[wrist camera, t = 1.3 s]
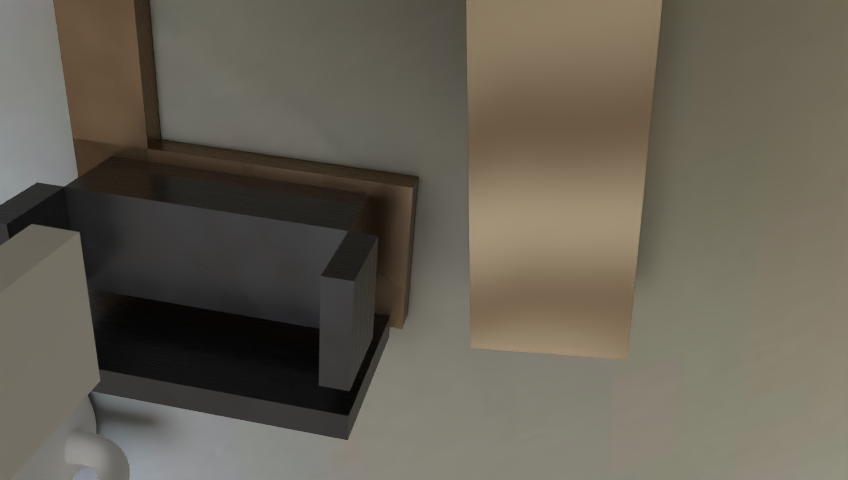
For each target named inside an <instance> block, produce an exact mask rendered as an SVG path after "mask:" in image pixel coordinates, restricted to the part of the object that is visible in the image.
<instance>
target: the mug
mask: <svg viewBox="0 0 848 480" xmlns="http://www.w3.org/2000/svg"><path fill="white" fill-rule="evenodd" d="M82 465H84V466H88V467H91V468H93V469H95V470H96V471H97V474H98V476H97V480H129V478H130V470H129V463H128V460H127V457H126V455H125V454H124V452H123V451H122V450H121V448H120V447H119V446H118V445H117V444H115V443H114V442H113V441H111V440H109V439H107V438H105V437H103V436H101V435H98V434H96V418H95V414H94V410H93V407H92V404H91V402H90V399H89V397H88V395H87V396H86V397H85V398H84V399H83V401H82V402H81V403H80V404H79V405H78V406H77V407H76V408H75V409H74V411H73V412H72V413H71V414H70V415H69V416H68V417H67V418H66V419H65V420H64V422H63V423H62V424H61V425H60V426H59V427H58V428H57V429H56V430H55V432H54V433H53V434H52V435H51V436H50V437H49V438H48V439H47V440H46V441H45V443H44V444H43V445H42V446H41V447H40V448H39V449H38V450H37V451H36V453H35V454H34V455H33V456H32V457H31V458H30V459H29V460H28V461H27V462H26V464H25V465H24V466H23V467H22V468H21V469H20V470H19V471H18V472H17V474H16V475H15V476H14V477H13V478H12V479H11V480H72V479H73V477H74V476H75V475H76V473H77V472H78V471H79V470H80V468H81V467H82Z"/></svg>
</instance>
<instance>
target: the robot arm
mask: <svg viewBox="0 0 848 480" xmlns="http://www.w3.org/2000/svg"><path fill="white" fill-rule="evenodd" d="M99 382H100V375H99V368H98V361H97V353H96V346H95V339H94V332H93V325H92V318H91V311H90V303H89V296H88V289H87V282H86V275H85V268H84V261H83V253H82V246H81V239H80V232H76V231H70V230H64V229H58V228H53V227H47V226H41V225H35V224H31V225H30V226H28V227H27V228H25V229H24V230H22V231H21V232H19V233H18V234H16V235H15V236H13V237H12V238H11V239H9V240H8V241H6V242H5V243H3V244H2V245H0V480H11V479H12V478H13V477H14V476H15V475H16V474H17V472H18V471H19V470H20V469H21V468H22V467H23V466H24V465H25V464H26V462H27V461H28V460H29V459H30V458H31V457H32V456H33V455H34V454H35V453H36V451H37V450H38V449H39V448H40V447H41V446H42V445H43V444H44V443H45V441H46V440H47V439H48V438H49V437H50V436H51V435H52V434H53V433H54V432H55V430H56V429H57V428H58V427H59V426H60V425H61V424H62V423H63V422H64V420H65V419H66V418H67V417H68V416H69V415H70V414H71V413H72V412H73V411H74V409H75V408H76V407H77V406H78V405H79V404H80V403H81V402H82V401H83V399H84V398H85V397H86V396H87V395H88V394H89V393H90V392H91V391H92V390H93V388H94V387H95V386H96V385H97V384H98V383H99Z"/></svg>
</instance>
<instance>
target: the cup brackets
mask: <svg viewBox="0 0 848 480" xmlns="http://www.w3.org/2000/svg"><path fill="white" fill-rule="evenodd" d="M53 2H54V9H55V16H56V23H57V30H58V37H59V44H60V51H61V58H62V65H63V72H64V79H65V86H66V93H67V100H68V107H69V114H70V121H71V128H72V135H73V142H74V149H75V156H76V163H77V170H78V177H79V178H77V179H75V180H74V181H72V182H71V183H69V184H68V185H66V186H65V187H63V186H56V185H50V184H43V183H36V184H34V185H33V186H31V187H29V188H28V189H26V190H24V191H23V192H21V193H19V194H18V195H16V196H15V197H13V198H11V199H10V200H8V201H6V202H5V203H3V204H1V205H0V245H2V244H3V243H5V242H6V241H8V240H9V239H11V238H12V237H13V236H15V235H16V234H18V233H19V232H21V231H22V230H24V229H25V228H27V227H28V226H30V225H31V224H35V225H41V226H47V227H53V228H58V229H64V230H70V231H76V232H80V239H81V246H82V253H83V261H84V268H85V275H86V282H87V289H88V296H89V303H90V311H91V318H92V325H93V332H94V339H95V346H96V353H97V361H98V368H99V375H100V382H99V383H98V384H97V385H96V386H95V387H94V388H93V390H92V391H94V392H99V393H104V394H110V395H115V396H120V397H125V398H130V399H136V400H141V401H146V402H151V403H157V404H162V405H167V406H172V407H178V408H183V409H188V410H193V411H198V412H204V413H209V414H214V415H219V416H225V417H230V418H235V419H240V420H246V421H251V422H256V423H261V424H266V425H272V426H277V427H282V428H287V429H293V430H298V431H303V432H308V433H313V434H319V435H324V436H329V437H334V438H340V439H345V440H348V438H349V435H350V433H351V430H352V428H353V425H354V423H355V420H356V418H357V415H358V413H359V410H360V408H361V405H362V403H363V400H364V398H365V395H366V393H367V390H368V388H369V385H370V383H371V380H372V378H373V376H374V373H375V371H376V368H377V366H378V363H379V361H380V358H381V356H382V353H383V351H384V348H385V346H386V343H387V341H388V338H389V327H394V328H400V329H402V328H403V325H404V322H405V320H406V317H407V312H408V300H409V287H410V275H411V262H412V249H413V237H414V224H415V212H416V199H417V186H418V177H414V176H407V175H400V174H393V173H386V172H379V171H372V170H365V169H358V168H351V167H344V166H338V165H331V164H324V163H317V162H310V161H303V160H296V159H289V158H282V157H275V156H268V155H261V154H255V153H248V152H241V151H234V150H227V149H220V148H213V147H206V146H199V145H192V144H185V143H178V142H172V141H165V140H161V135H160V124H159V112H158V101H157V89H156V78H155V66H154V55H153V43H152V32H151V20H150V8H149V0H53Z"/></svg>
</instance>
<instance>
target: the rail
mask: <svg viewBox="0 0 848 480" xmlns="http://www.w3.org/2000/svg"><path fill="white" fill-rule="evenodd" d="M661 10H662V0H466V18H467V95H468V173H469V251H470V328H471V348H480V349H493V350H506V351H520V352H533V353H546V354H560V355H573V356H586V357H600V358H613V359H626V360H628V349H629V339H630V329H631V319H632V308H633V298H634V288H635V277H636V267H637V257H638V247H639V236H640V226H641V216H642V205H643V195H644V185H645V175H646V164H647V154H648V144H649V133H650V123H651V113H652V103H653V92H654V82H655V72H656V61H657V51H658V41H659V31H660V20H661Z"/></svg>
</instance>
